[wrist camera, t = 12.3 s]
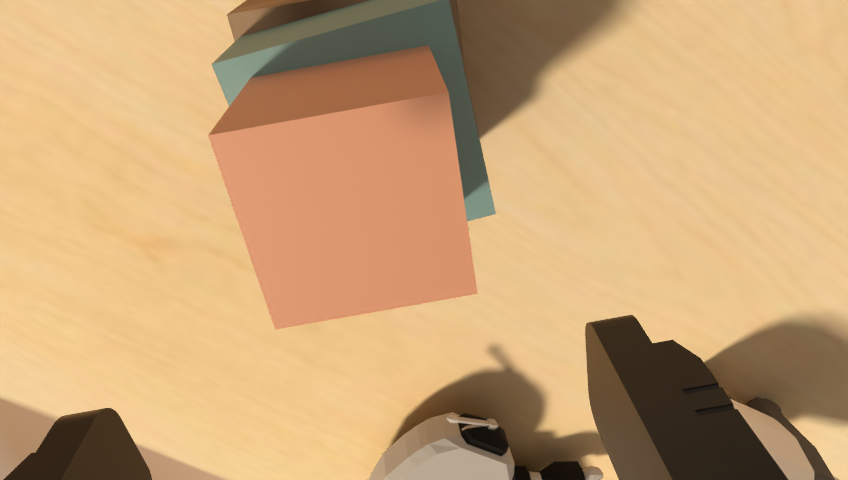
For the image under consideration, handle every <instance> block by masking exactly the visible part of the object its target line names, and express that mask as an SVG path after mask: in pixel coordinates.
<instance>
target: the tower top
mask: <svg viewBox="0 0 848 480" xmlns="http://www.w3.org/2000/svg"><path fill="white" fill-rule="evenodd" d="M427 45H429V47H430V50H431V52H432V54H433V57H434V59H435V61H436V64H437V66H438V68H439V71H440V73H441V75H442V78H443V80H444V83H445V85H446V87H447V90H448V92H449V99H450V106H451V113H452V120H453V127H454V134H455V141H456V148H457V155H458V162H459V169H460V176H461V183H462V190H463V197H464V204H465V211H466V218H467V221H470V220H474V219H478V218H482V217H486V216H489V215H493V214H496V213H495V208H494V203H493V199H492V194H491V190H490V185H489V181H488V176H487V172H486V167H485V162H484V158H483V153H482V149H481V144H480V140H479V135H478V130H477V126H476V121H475V117H474V112H473V108H472V103H471V98H470V94H469V89H468V85H467V80H466V76H465V71H464V66H463V62H462V57H461V53H460V48H459V44H458V39H457V35H456V30H455V25H454V21H453V16H452V12H451V7H450V3H449V0H368V1H365V2H361V3H358V4H354V5H351V6H347V7H344V8H340V9H336V10H333V11H329V12H326V13H322V14H319V15H315V16H312V17H308V18H305V19H301V20H297V21H294V22H290V23H287V24H283V25H280V26H276V27H273V28H269V29H266V30H262V31H258V32H255V33H251V34H248V35H244V36H241V37H240V38H238V39H237V40H236V41H235V42H234V43H233V44H232V45H231V46H230V47H229V48H228V49H227V50H226V51H225V52H224V53H223V54H222V55H221V56H220V57H219V58H218V59H217V60H216V61H215V62H213V63H212V66H213V69H214V71H215V73H216V76H217V78H218V81H219V83H220V85H221V88H222V90H223V93H224V95H225V97H226V100H227V102H228V104H229V107H230V105H231V104H232V102H233V101H234V100H235V98H236V97H237V96H238V94H239V93H240V92H241V90H242V89H243V87H244V86H245V85H246V83H247V82H248V81H249V79H250V78H251V77H256V76H262V75H267V74H273V73H278V72H284V71H289V70H295V69H300V68H306V67H311V66H317V65H322V64H328V63H333V62H339V61H344V60H350V59H355V58H361V57H367V56H372V55H378V54H383V53H389V52H394V51H400V50H405V49H411V48H416V47H422V46H427Z"/></svg>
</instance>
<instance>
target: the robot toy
mask: <svg viewBox="0 0 848 480" xmlns="http://www.w3.org/2000/svg"><path fill="white" fill-rule="evenodd" d="M514 465H515V463H514V460H513V457H512V454H511V451H510V448H509V445H508V441H507V439H506V435H505V432H504V430H503V429H502V428H500V427H499V426H498V424H497V422H496V420H495V419H490V418H488V419H487V420H486V419H483V418H480V417H477V416H473V415H470V414H466V413H465V414H462V415H459V414H456V413H454V412H451V413H447V414H443V415H439V416H435V417H431V418H429V419H427V420H425V421H424V422H422V423H420V424H418V425H417V426H415V427H414V428H412V429H411V430H410V431H408V432H407V433H405V434H404V435H403V436H402V437H401V438H400V439H398V440H397V441H396V442H395V443H394V444H393V445H392V446H391V447H389V448H388V449H387V450H386V451H385V452H384V453H383V454H382V456H381V458H380V459H379V461H378V463H377V465H376V466H375V468H374V470H373V471H372V473H371V476H370V478H369V480H600V479H602V478H603V473H602V471H601V470H600V469H599V468H598V467H593V466H589V467H587V468H585V469H582V468H581V466H580V465H579V463H578V462H577V461H573V462H553V463H552V464H550V465H549V466H547V467H545V468H544V469H543V470H541V471H540V472H532V471H528V469H527V468H526V466H514Z"/></svg>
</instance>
